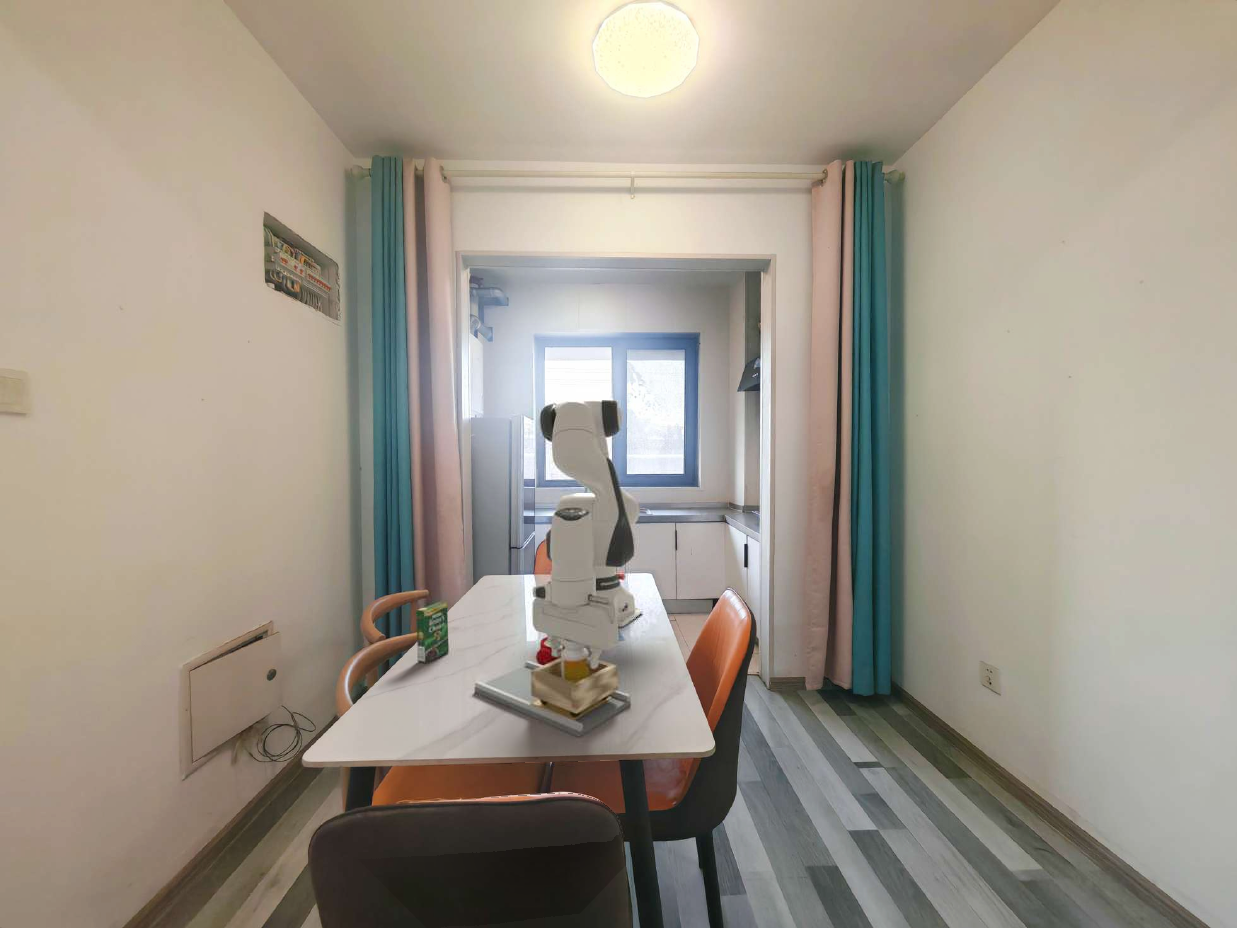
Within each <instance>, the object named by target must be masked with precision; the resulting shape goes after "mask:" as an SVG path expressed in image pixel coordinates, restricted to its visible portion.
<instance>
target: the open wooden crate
mask: <svg viewBox="0 0 1237 928" xmlns="http://www.w3.org/2000/svg"><path fill="white" fill-rule="evenodd" d="M589 657H590V656H588V658H589ZM588 673H589V677H587V678H585V679H583V680H581V681H579V682H577V683H574V682H572V681H569V680H566V679H563V678H561V658H559V659H557V660H555V661H553V662H550V663H548V664H546V665H543V666H541V667H539V668H537V669H534V670H532V671H531V696H533V697H536V698H538V699H540V701H541V703H542V704H543V705H546V704H548V703H551V704H554V705H556V706H559V707H561V708H564V709H566V710H569V711H570V714H571V715H572V716H573V717H576V716H578V715H580V714H581V711H582V710H584V709H585V708H587V707H589V706H591V705H592V704H594V703H596V702H597V701H599V700H601V699H602V700H605V699H607V698H609V696H610V694H611V693H613V692H615V691H616V690H617V691H619V682H618V681H619V680H618V678H619V677H618V675H619V674H618V664H617V665H616V664H613V663H610V662H606V661H603V660H600V659H598V667H597V668H595V669H592V668H589V667H588Z"/></svg>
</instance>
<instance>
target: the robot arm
mask: <svg viewBox="0 0 1237 928" xmlns="http://www.w3.org/2000/svg"><path fill="white" fill-rule="evenodd" d="M538 420H539V422H538V423H539V429H540V431H541V433H542V437H543V438H544V439H546V441H548V442H549V443H550V442H551V453H552V460H553V461H552V462H553V463H554V465H555V467H556V468H557V469H558V470H559V471H560V472H561V473H563V475H565V476H566V477H569V478H570V479H574V480H575V481H576V482H577V483H578V485H580V486H582V487H584V488H585V489H588V490H589V491H590V493H589V492H583V493H582V492H581V493H579V492H577V493H571V494H567V495H563V496H562V497H561V498H560V499H559V501H558V503H557V505H556V511H555V512H553V515H552V519H551V528H550V529H549V530H548V531H547V532H546V534H545V539H546V540H545V541H546V546H545V547H546V558H547V559H548V560H549V561H550V562H551V563H552V564H551V565H552V567H551V572H550V581H547V582H546V583H542V584H539V585H536V586H533V588H532V597H533V598H534V600H533V602H532V609H531V610H532V612H531V614H532V617H531V618H532V625H533V628H534V630H535V631H536V632H539V633H543V634H546V637H547V640H548V642H549V644H550V646H551V648H552V656H554V657H557V658H559V657H561V652H562V651H563V647H561V646H560V644H559V641H558V637H560V638H563V639H567V640H571V641H574V642H578V643H581V644H585V646H589V647H590V648H589V649H590V652H592V653H591V655H590V656H588V657H589V658H587V667H589V668H592V669H595V668H597V667H598V660H599V658H600V656H601V654H602V652H603V651H608V650H609V649H612V648H614V647H616V646H617V644H618V643H619V640H620V639H619V638H620V637H619V627H624V626H626V625H628V624H629V623H631V622H632V621H634V620H635V619H636V617H637V616H638V617H640V616H641V615H643V614H644V613H643V610H642V609H640V608H639V607H636V605H635V597H634V595H633V594H632V593H631V592H630V591H629V590H627V589H626V588H625V587H624V586H623V585H621V581H625V579H626V574H625V573H621V572H618V573H617V568H622V567H624V566H625V565H626V564H627V563H629V562H630V561H631V560H632V559H633V557H634V556H635V550H636V539H635V535H634V532H633V529H632V527H634V525H636V522H637V521H638V520H639V517H640V506H639V503H638V501H637V499H636V498H635V497H634V496H633V495H631V494H630V493H628V492H627V491H626V490H625V489H623V488H622V487H621V486H620V481H619V478H618V474H617V472H616V468H615V465H614V463H613V461H612V459H611V458H610V455H609V454H610V453H609V448H608V441H607V438H608V439H609V438H611V437H614V436H615V435H617V434H618V433H619V432H620V431H621V426H622V423H623V414H622V410H621V408H620V406H619V403H618V402H617V401H616V400H615V399H614V398H610V397H602V398H580V399H577V400H576V399H575V400H568V401H564V402H559V403H555V402H554V403H550V404H548V405H545V406H544V407H543V408H542V409H541V410H540V416H539V419H538ZM642 613H643V614H642ZM640 614H641V615H640ZM639 615H640V616H639ZM638 617H637V618H638ZM633 619H634V620H633ZM630 621H631V622H630Z"/></svg>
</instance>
